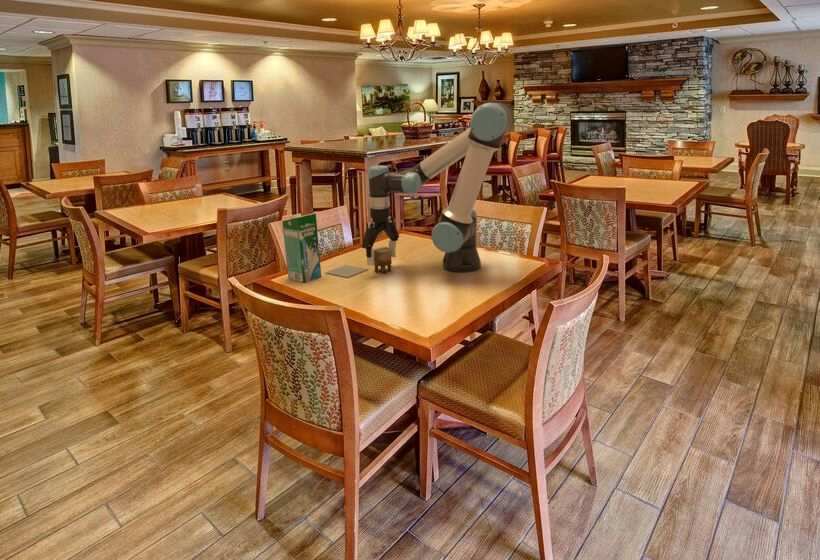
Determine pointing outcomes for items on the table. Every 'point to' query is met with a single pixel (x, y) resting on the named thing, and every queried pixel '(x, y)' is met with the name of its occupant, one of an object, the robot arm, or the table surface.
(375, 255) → the footstool
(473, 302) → the table surface
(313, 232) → the milk carton
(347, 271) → the mat
